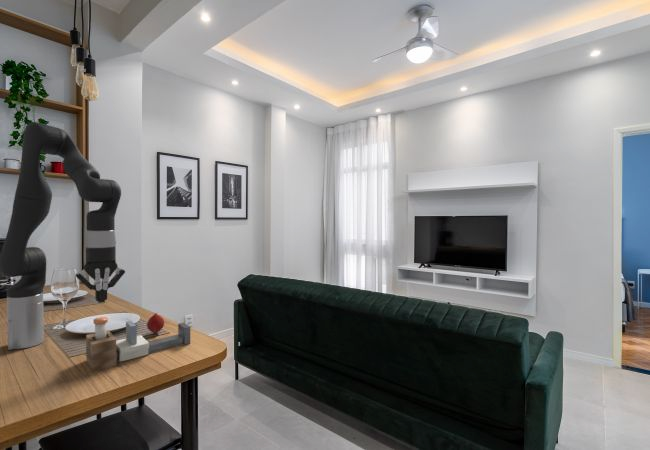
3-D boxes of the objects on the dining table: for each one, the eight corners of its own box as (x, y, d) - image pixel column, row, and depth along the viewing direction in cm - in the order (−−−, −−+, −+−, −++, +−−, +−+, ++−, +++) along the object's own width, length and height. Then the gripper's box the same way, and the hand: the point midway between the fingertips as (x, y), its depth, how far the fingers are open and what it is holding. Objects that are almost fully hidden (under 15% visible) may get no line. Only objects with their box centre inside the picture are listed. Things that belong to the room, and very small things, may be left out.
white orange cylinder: (94, 348, 99) (94, 321, 99) (92, 344, 102) (92, 318, 101) (109, 345, 101) (108, 319, 101) (106, 341, 104) (106, 316, 104)
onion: (143, 334, 125) (143, 313, 125) (157, 329, 130) (157, 309, 130) (153, 337, 122) (153, 316, 122) (167, 332, 128) (167, 311, 127)
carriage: (120, 362, 101) (120, 330, 101) (113, 353, 108) (113, 322, 107) (149, 355, 107) (149, 324, 106) (141, 346, 113) (140, 317, 113)
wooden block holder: (92, 371, 96) (92, 344, 96) (86, 360, 103) (86, 334, 103) (116, 365, 100) (116, 339, 100) (109, 354, 107) (108, 330, 107)
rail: (114, 363, 102) (114, 343, 101) (110, 356, 106) (110, 338, 106) (190, 343, 117) (190, 326, 117) (183, 338, 122) (183, 322, 122)
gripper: (122, 243, 108) (122, 296, 108) (71, 245, 99) (72, 303, 99) (129, 245, 102) (129, 300, 103) (75, 247, 93) (76, 308, 94)
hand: (101, 301), depth 101 cm, fingers closed
